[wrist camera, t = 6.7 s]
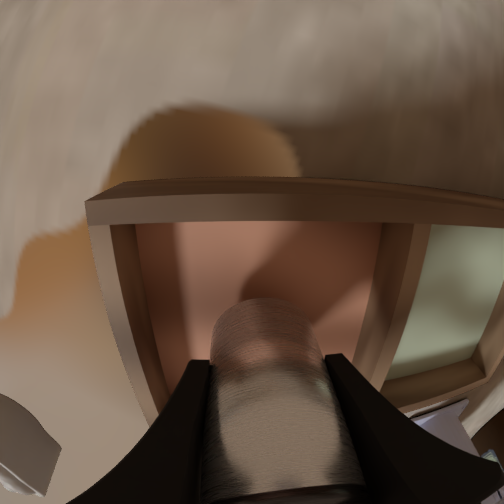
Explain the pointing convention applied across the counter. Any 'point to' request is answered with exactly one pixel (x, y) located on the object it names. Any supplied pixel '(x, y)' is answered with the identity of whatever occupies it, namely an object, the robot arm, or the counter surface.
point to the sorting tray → (305, 276)
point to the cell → (274, 414)
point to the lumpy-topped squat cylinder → (25, 450)
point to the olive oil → (491, 440)
